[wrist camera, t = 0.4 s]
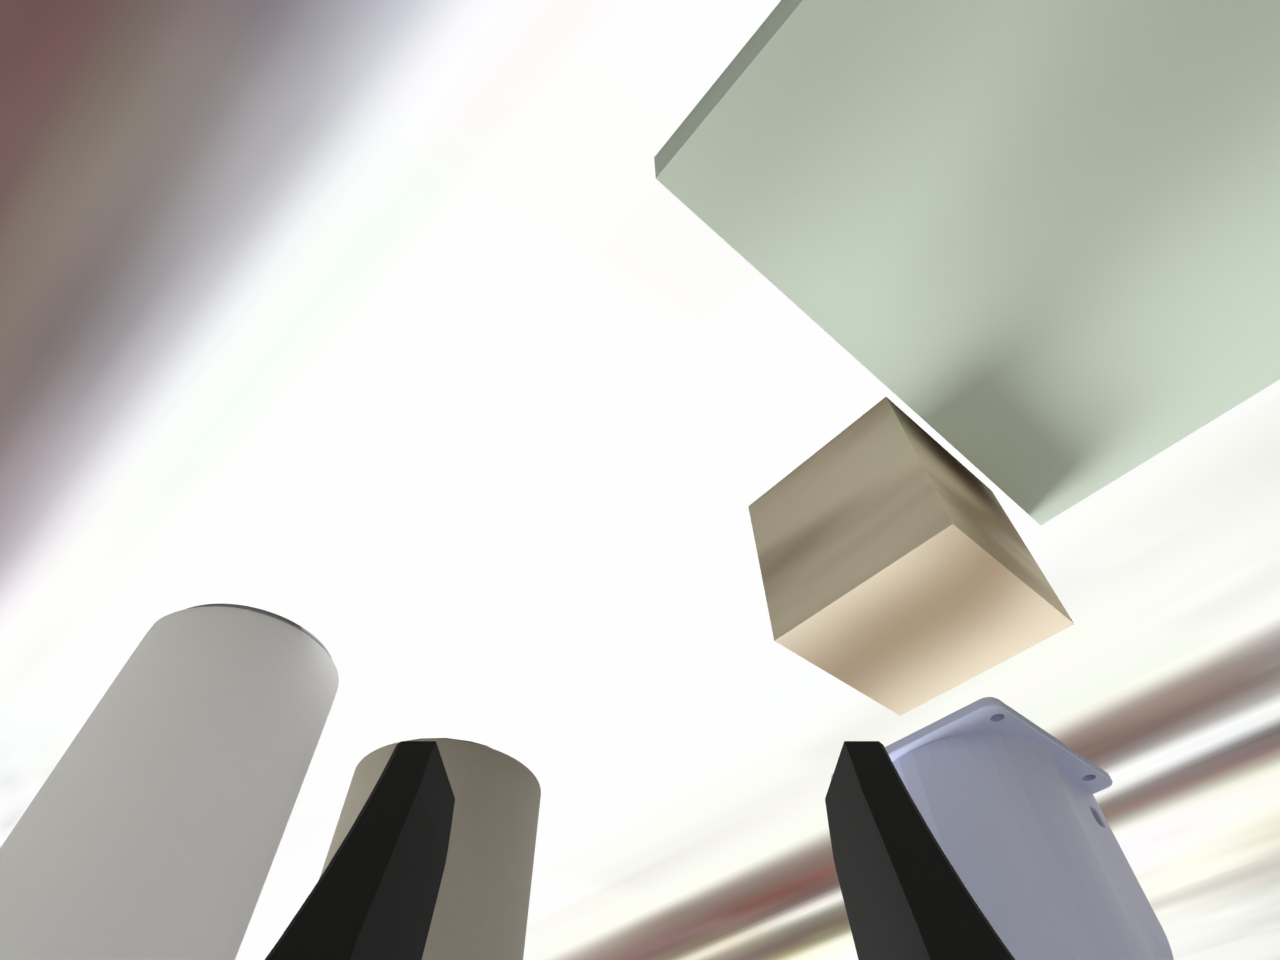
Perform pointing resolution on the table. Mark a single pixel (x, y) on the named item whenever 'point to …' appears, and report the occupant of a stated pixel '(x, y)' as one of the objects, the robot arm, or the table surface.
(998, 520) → the block
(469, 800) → the travel mug
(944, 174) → the base
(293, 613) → the table surface
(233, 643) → the can
